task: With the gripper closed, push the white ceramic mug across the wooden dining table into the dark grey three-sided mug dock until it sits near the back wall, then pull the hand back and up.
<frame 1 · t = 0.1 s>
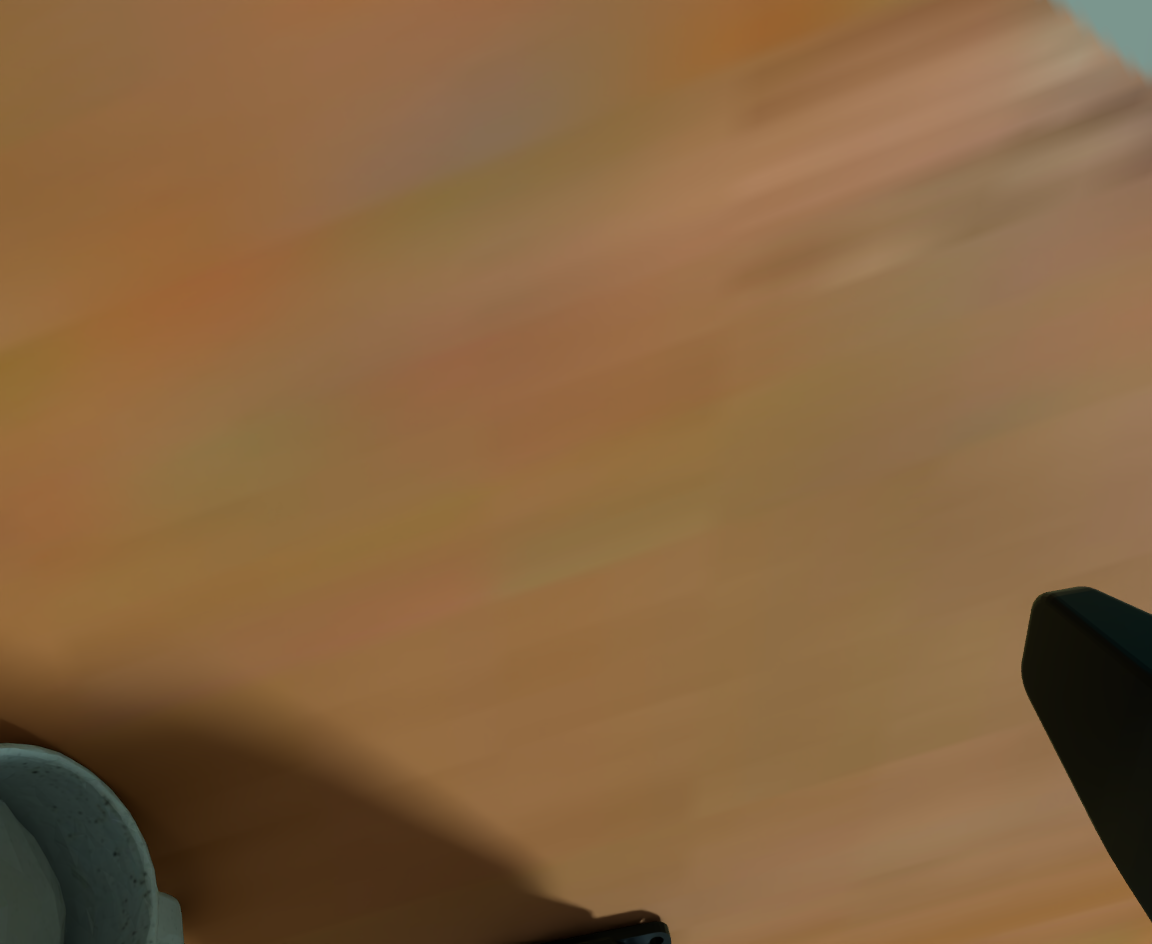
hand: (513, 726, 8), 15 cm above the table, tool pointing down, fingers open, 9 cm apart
ceramic mug: (29, 843, 28), on the table
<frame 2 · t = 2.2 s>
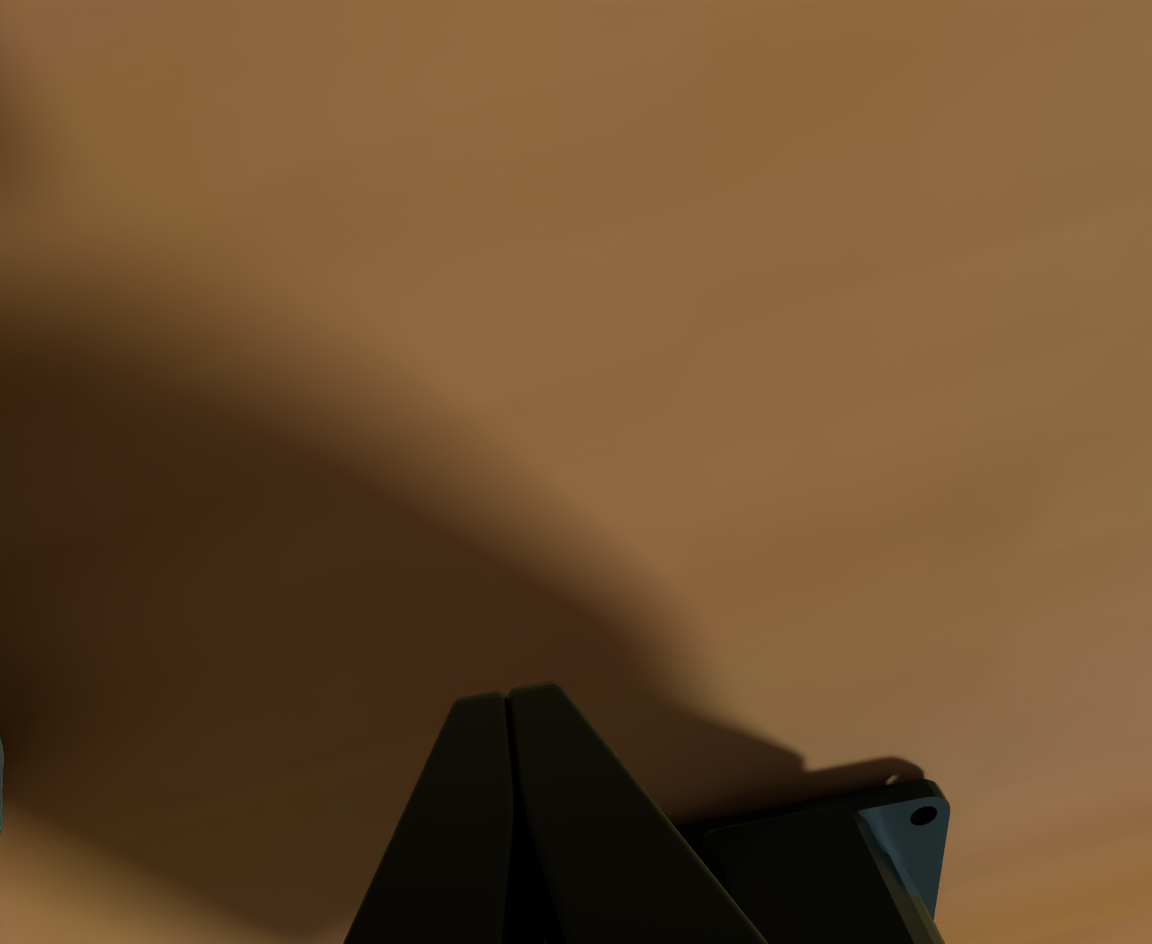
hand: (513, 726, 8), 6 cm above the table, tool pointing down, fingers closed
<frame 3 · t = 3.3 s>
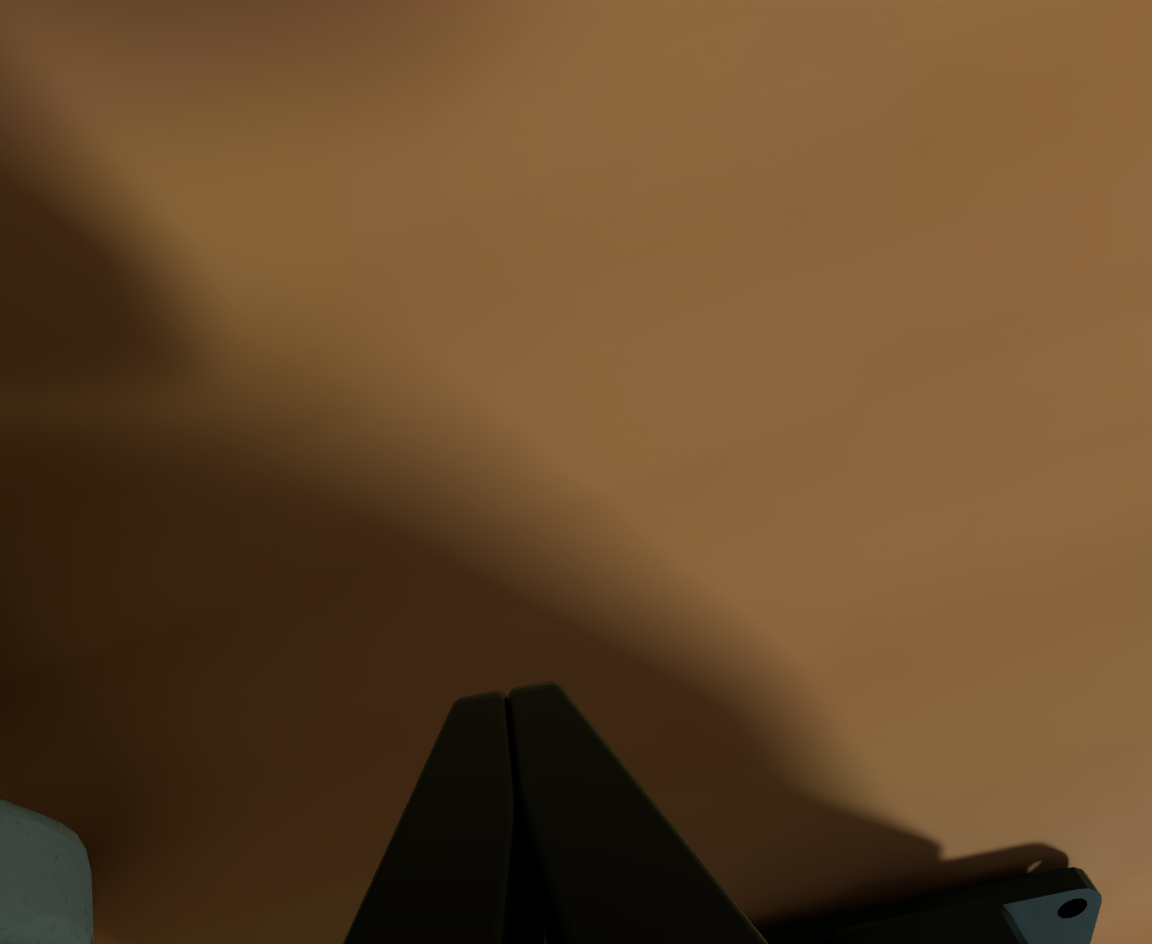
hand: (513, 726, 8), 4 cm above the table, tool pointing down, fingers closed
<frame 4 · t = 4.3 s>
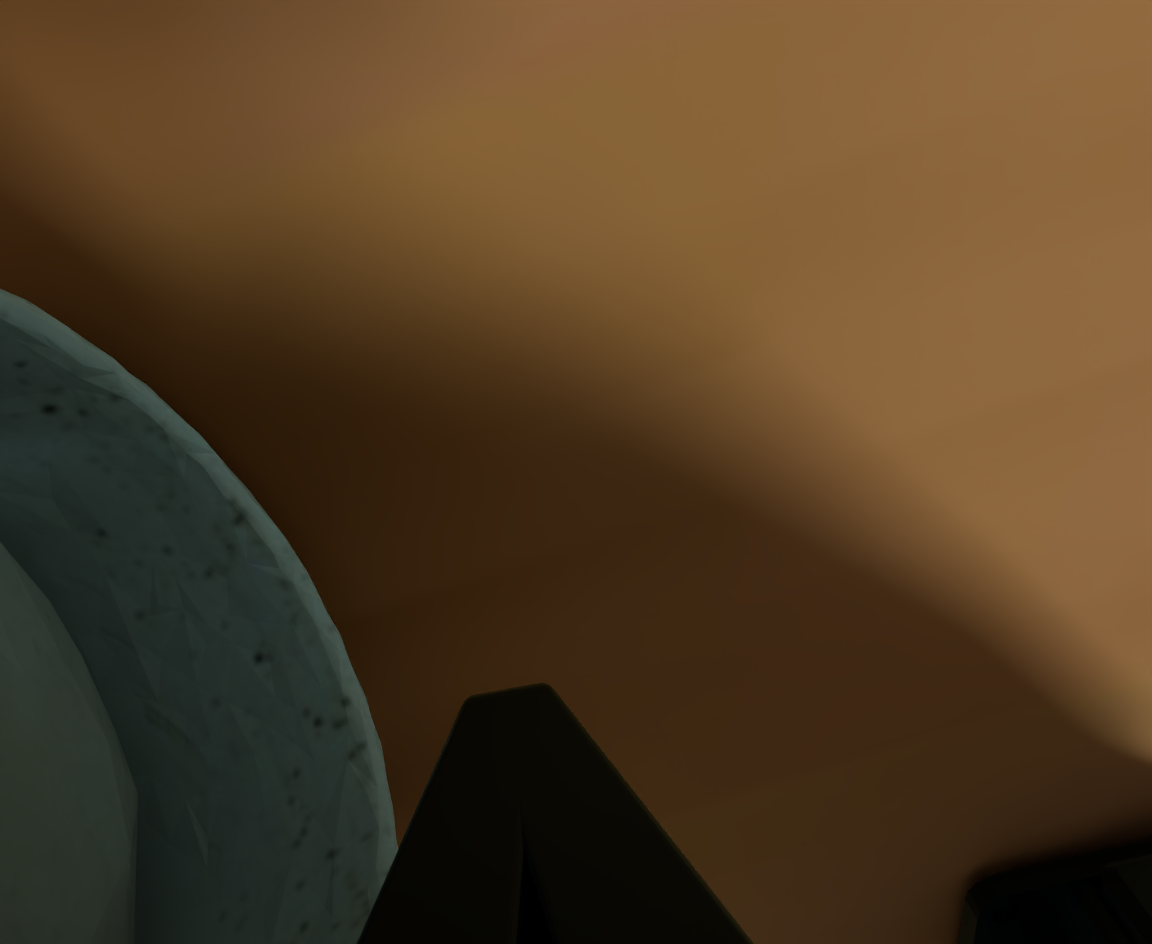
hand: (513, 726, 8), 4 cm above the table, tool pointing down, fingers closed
ceramic mug: (34, 654, 11), on the table, touching gripper
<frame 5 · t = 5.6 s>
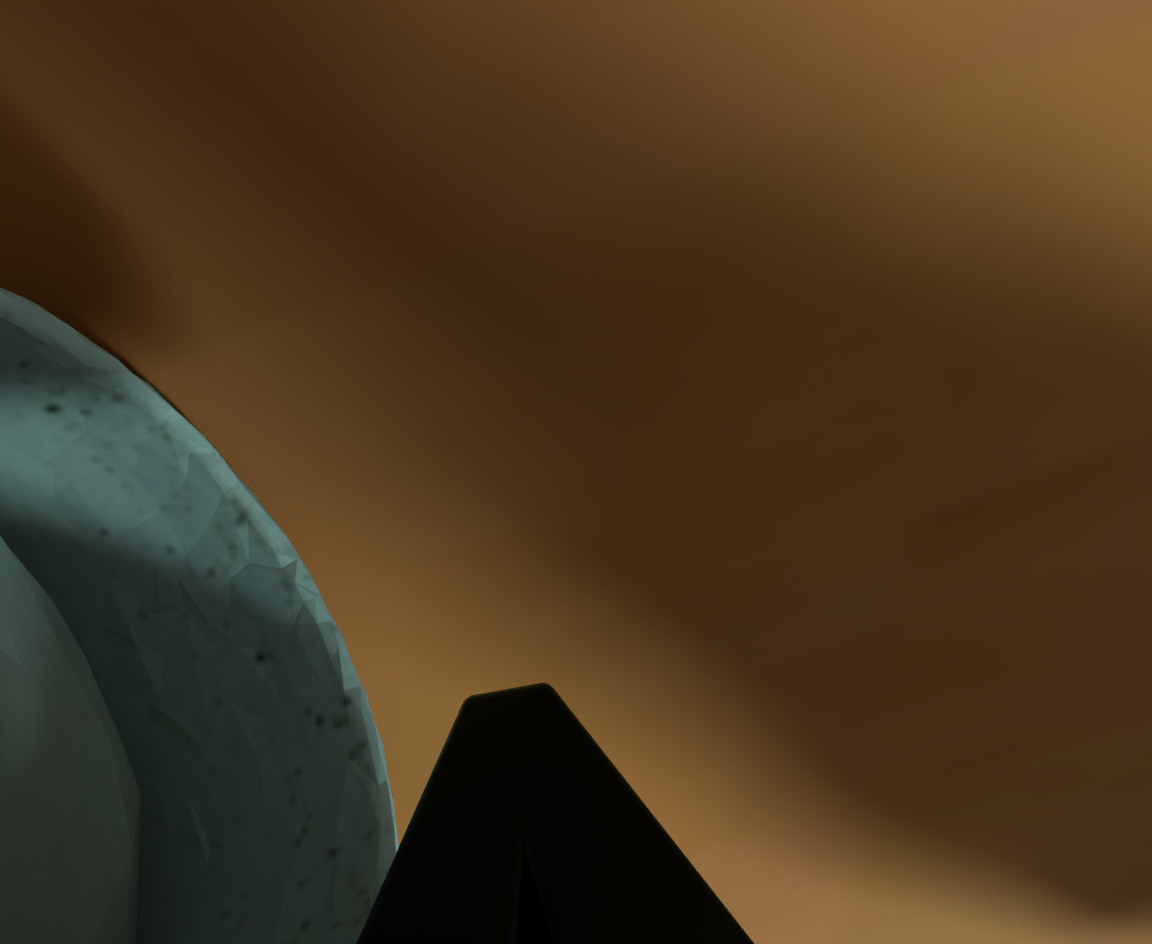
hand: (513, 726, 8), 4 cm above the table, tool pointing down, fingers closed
ceramic mug: (37, 653, 11), on the table, touching gripper
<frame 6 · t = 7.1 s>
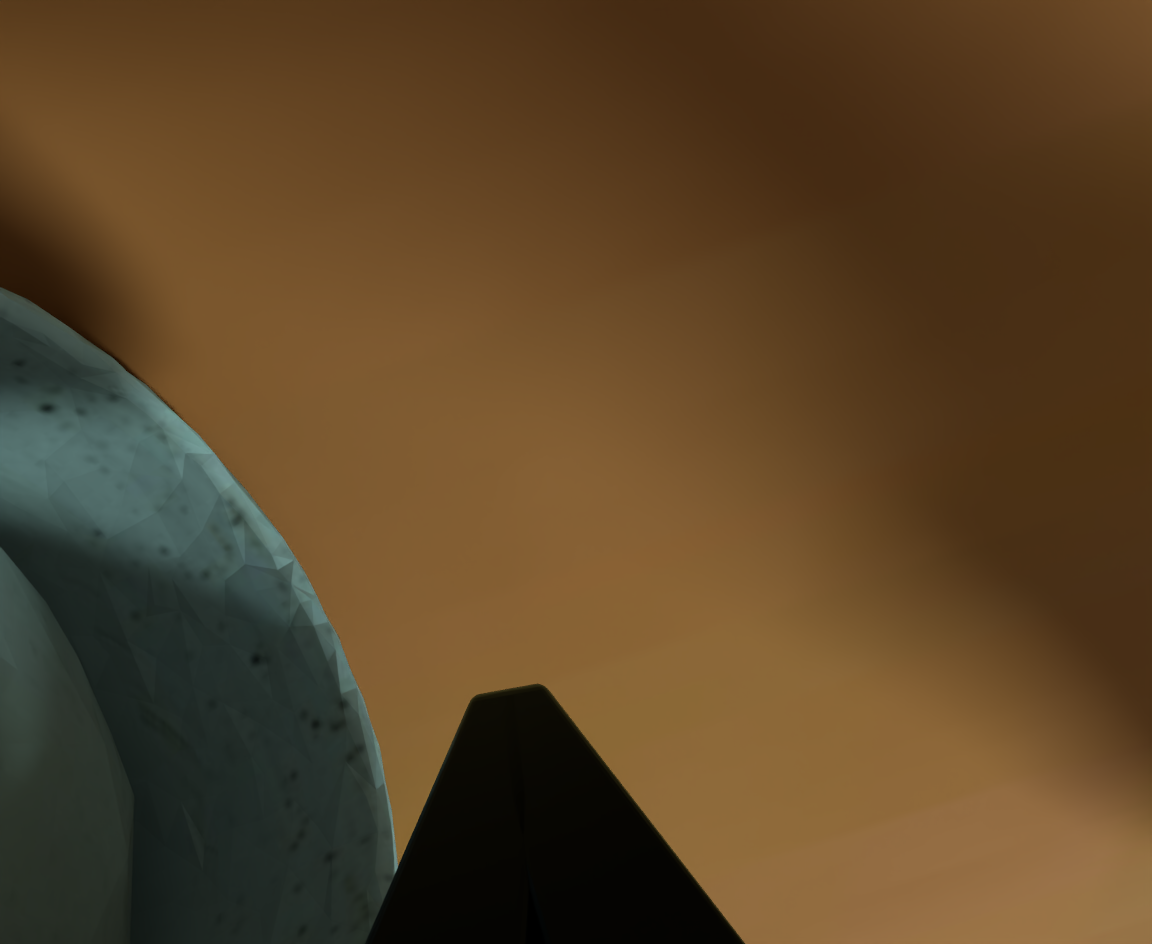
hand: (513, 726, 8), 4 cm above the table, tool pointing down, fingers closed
ceramic mug: (27, 655, 11), on the table, touching gripper, mug dock
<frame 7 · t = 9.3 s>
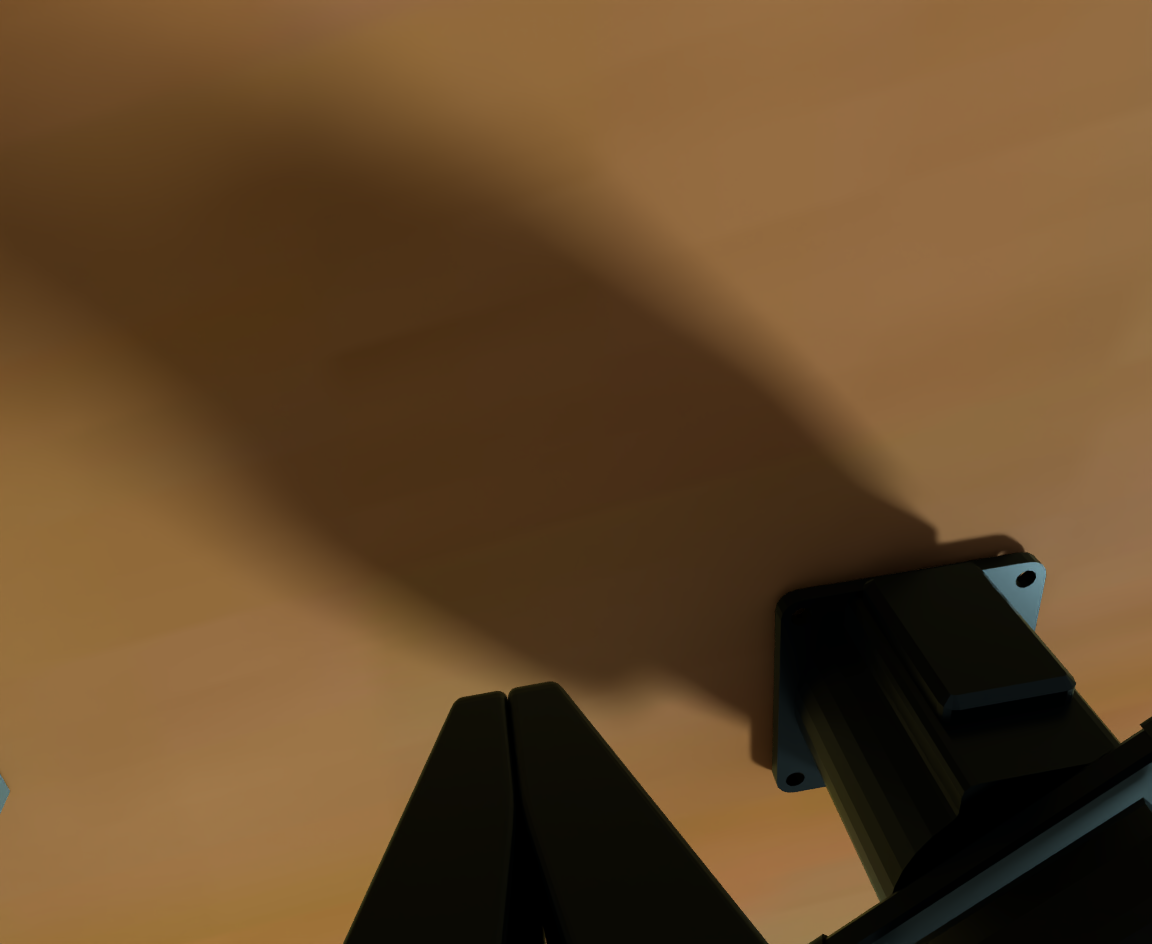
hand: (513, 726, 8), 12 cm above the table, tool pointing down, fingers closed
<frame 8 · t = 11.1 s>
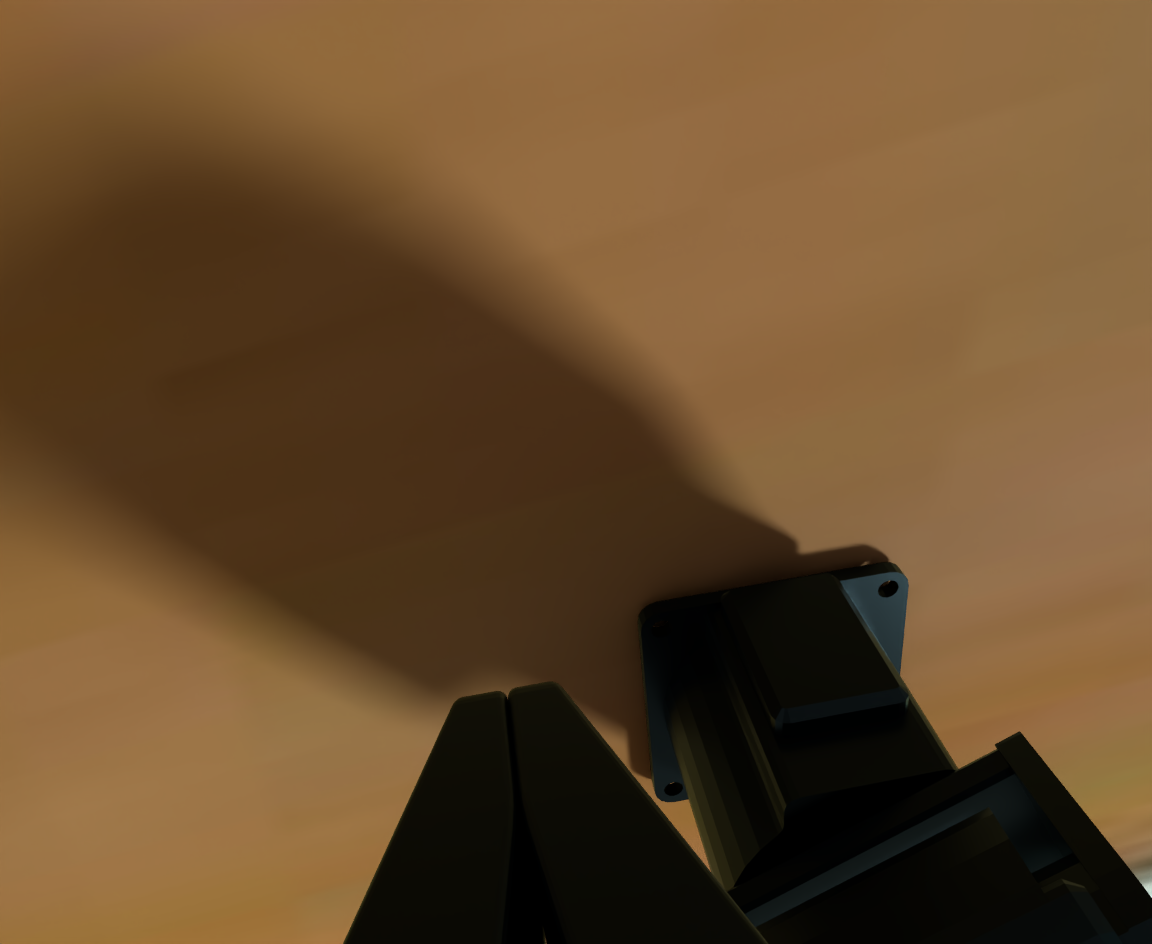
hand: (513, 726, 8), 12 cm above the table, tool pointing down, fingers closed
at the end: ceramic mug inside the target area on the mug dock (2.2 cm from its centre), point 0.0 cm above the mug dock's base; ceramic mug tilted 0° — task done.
